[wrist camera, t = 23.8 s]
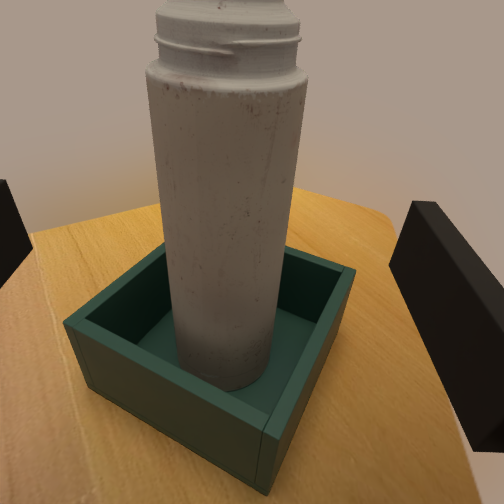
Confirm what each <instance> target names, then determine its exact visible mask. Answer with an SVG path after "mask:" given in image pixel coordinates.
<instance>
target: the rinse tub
mask: <svg viewBox="0 0 504 504" xmlns="http://www.w3.org/2000/svg"><path fill="white" fill-rule="evenodd" d="M355 274H356V270H355V269H352V268H349V267H347V266H343V265H341V264H338V263H335V262H332V261H329V260H326V259H323V258H320V257H317V256H314V255H311V254H308V253H306V252H303V251H300V250H297V249H294V248H291V247H288V246H285V249H284V257H283V264H282V271H281V278H280V285H279V293H278V300H277V307H276V314H275V321H274V329H273V337H272V344H271V351H270V357H269V362H268V364H267V367H266V369H265V371H264V372H263V373H262V374H261V376H260V377H259V378H258V379H256V380H255V381H254V382H253V383H251V384H250V385H248V386H246V387H244V388H241V389H238V390H234V391H227V392H224V391H222V390H220V389H219V388H217V387H215V386H213V385H211V384H209V383H207V382H205V381H203V380H201V379H199V378H198V377H196V376H194V375H192V374H190V373H188V372H186V371H184V370H182V369H181V367H180V364H179V361H178V355H177V346H176V337H175V328H174V320H173V311H172V302H171V293H170V284H169V276H168V267H167V258H166V249H165V242H164V243H162V244H161V245H160V246H158V247H157V248H156V249H155V250H153V251H152V252H151V253H150V254H148V255H147V256H146V257H144V258H143V259H142V260H141V261H139V262H138V263H137V264H136V265H134V266H133V267H132V268H130V269H129V270H128V271H127V272H125V273H124V274H123V275H122V276H120V277H119V278H118V279H116V280H115V281H114V282H113V283H111V284H110V285H109V286H108V287H106V288H105V289H104V290H102V291H101V292H100V293H99V294H97V295H96V296H95V297H94V298H92V299H91V300H90V301H88V302H87V303H86V304H85V305H83V306H82V307H81V308H79V309H78V310H77V311H76V312H74V313H73V314H72V315H71V316H69V317H68V318H67V319H65V320H64V321H63V325H64V327H65V330H66V332H67V335H68V338H69V340H70V343H71V345H72V348H73V350H74V353H75V355H76V358H77V360H78V363H79V365H80V368H81V371H82V373H83V376H84V378H85V381H86V383H87V386H88V387H89V388H90V389H92V390H93V391H95V392H97V393H98V394H100V395H102V396H103V397H105V398H107V399H108V400H110V401H111V402H113V403H115V404H116V405H118V406H120V407H121V408H123V409H125V410H126V411H128V412H129V413H131V414H133V415H134V416H136V417H138V418H139V419H141V420H143V421H144V422H146V423H147V424H149V425H151V426H152V427H154V428H156V429H157V430H159V431H161V432H162V433H164V434H165V435H167V436H169V437H170V438H172V439H174V440H175V441H177V442H179V443H180V444H182V445H184V446H185V447H187V448H188V449H190V450H192V451H193V452H195V453H197V454H198V455H200V456H202V457H203V458H205V459H206V460H208V461H210V462H211V463H213V464H215V465H216V466H218V467H220V468H221V469H223V470H224V471H226V472H228V473H229V474H231V475H233V476H234V477H236V478H238V479H239V480H241V481H242V482H244V483H246V484H247V485H249V486H251V487H252V488H254V489H256V490H257V491H259V492H260V493H262V494H264V495H265V496H268V494H269V492H270V490H271V487H272V485H273V483H274V480H275V478H276V475H277V473H278V471H279V468H280V466H281V464H282V461H283V459H284V457H285V454H286V452H287V450H288V447H289V445H290V443H291V440H292V438H293V436H294V433H295V431H296V429H297V426H298V424H299V421H300V419H301V417H302V414H303V412H304V410H305V407H306V405H307V403H308V400H309V398H310V396H311V393H312V391H313V389H314V386H315V384H316V382H317V379H318V377H319V375H320V372H321V370H322V368H323V365H324V363H325V360H326V358H327V356H328V353H329V351H330V349H331V346H332V344H333V342H334V339H335V337H336V335H337V332H338V330H339V326H340V323H341V320H342V317H343V313H344V310H345V307H346V304H347V300H348V297H349V294H350V290H351V287H352V284H353V281H354V277H355Z"/></svg>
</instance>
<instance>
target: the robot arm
mask: <svg viewBox="0 0 504 504" xmlns="http://www.w3.org/2000/svg"><path fill="white" fill-rule="evenodd" d="M32 249H33V247H32V244H31V242H30V239H29V237H28V234H27V232H26V229H25V227H24V224H23V222H22V219H21V217H20V214H19V212H18V209H17V207H16V204H15V202H14V199H13V197H12V194H11V192H10V189H9V187H8V184H7V182H6V180H3V179H0V289H1V287H2V286H3V285H4V284H5V282H6V281H7V280H8V279H9V278H10V276H11V275H12V274H13V273H14V271H15V270H16V269H17V268H18V267H19V265H20V264H21V263H22V262H23V260H24V259H25V258H26V257H27V256H28V254H29V253H30V252H31V251H32ZM389 267H390V270H391V272H392V274H393V276H394V278H395V281H396V283H397V285H398V287H399V289H400V292H401V294H402V296H403V298H404V300H405V303H406V305H407V307H408V309H409V311H410V314H411V316H412V318H413V320H414V322H415V325H416V327H417V329H418V331H419V333H420V336H421V338H422V340H423V342H424V344H425V347H426V349H427V351H428V353H429V355H430V358H431V360H432V362H433V364H434V366H435V369H436V371H437V373H438V375H439V377H440V380H441V382H442V384H443V386H444V388H445V391H446V393H447V395H448V397H449V399H450V402H451V404H452V406H453V408H454V410H455V413H456V415H457V417H458V419H459V421H460V424H461V426H462V428H463V430H464V432H465V435H466V437H467V439H468V441H469V443H470V446H471V448H472V450H473V452H499V453H504V288H503V287H502V285H501V284H500V283H499V282H498V280H497V279H496V278H495V276H494V275H493V274H492V273H491V271H490V270H489V269H488V268H487V266H486V265H485V264H484V263H483V261H482V260H481V259H480V257H479V256H478V255H477V254H476V253H475V251H474V250H473V249H472V247H471V246H470V245H469V244H468V242H467V241H466V240H465V239H464V237H463V236H462V235H461V234H460V232H459V231H458V230H457V228H456V227H455V226H454V225H453V223H452V222H451V221H450V219H449V218H448V217H447V216H446V214H445V213H444V212H443V211H442V209H441V208H440V207H439V206H438V204H437V203H436V202H429V201H412V203H411V206H410V209H409V212H408V214H407V217H406V220H405V222H404V225H403V228H402V230H401V233H400V236H399V238H398V241H397V244H396V247H395V249H394V252H393V255H392V257H391V260H390V263H389Z"/></svg>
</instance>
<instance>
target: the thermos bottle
mask: <svg viewBox="0 0 504 504" xmlns="http://www.w3.org/2000/svg"><path fill="white" fill-rule="evenodd" d="M156 24H157V34H155V36H154V40H155V41H156V42H157V43H158V48H159V59H157V60H154V61H152V62H151V63H149V64H148V65H147V66H146V82H147V90H148V99H149V108H150V117H151V126H152V134H153V143H154V152H155V161H156V170H157V179H158V187H159V196H160V205H161V214H162V223H163V232H164V240H165V249H166V258H167V267H168V276H169V284H170V293H171V302H172V311H173V320H174V328H175V337H176V346H177V355H178V361H179V364H180V367H181V369H182V370H184V371H186V372H188V373H190V374H192V375H194V376H196V377H198V378H199V379H201V380H203V381H205V382H207V383H209V384H211V385H213V386H215V387H217V388H219V389H220V390H222V391H224V392H227V391H234V390H238V389H241V388H244V387H246V386H248V385H250V384H251V383H253V382H254V381H255V380H256V379H258V378H259V377H260V376H261V374H262V373H263V372H264V371H265V369H266V367H267V364H268V362H269V357H270V351H271V344H272V337H273V329H274V321H275V314H276V307H277V300H278V293H279V285H280V278H281V271H282V264H283V257H284V249H285V242H286V235H287V228H288V220H289V213H290V206H291V199H292V192H293V184H294V176H295V170H296V162H297V155H298V148H299V141H300V134H301V127H302V119H303V112H304V104H305V97H306V90H307V83H308V76H307V74H306V72H305V71H304V70H302V69H301V68H299V67H297V66H296V55H297V47H298V42H300V41H301V39H302V37H301V36H300V35H299V29H300V20H299V19H298V18H297V16H296V15H295V14H294V13H293V12H291V10H290V9H289V8H288V7H287V6H286V5H285V4H284V0H168V1H167V2H165V3H164V4H163V5H162V6H161V7H160V8H158V9H157V11H156Z"/></svg>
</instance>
